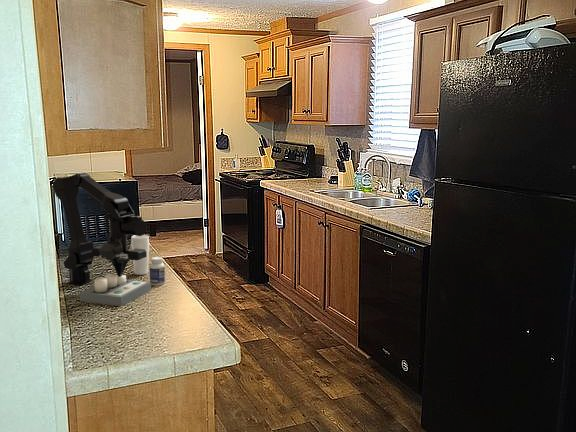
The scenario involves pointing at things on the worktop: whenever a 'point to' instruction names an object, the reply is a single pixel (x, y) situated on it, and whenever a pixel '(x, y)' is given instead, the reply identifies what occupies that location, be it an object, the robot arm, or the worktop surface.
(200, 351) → the worktop surface
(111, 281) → the button
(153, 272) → the pill bottle
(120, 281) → the button
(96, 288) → the button
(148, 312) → the worktop surface
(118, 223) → the robot arm
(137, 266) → the white tall cylinder
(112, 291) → the button board
